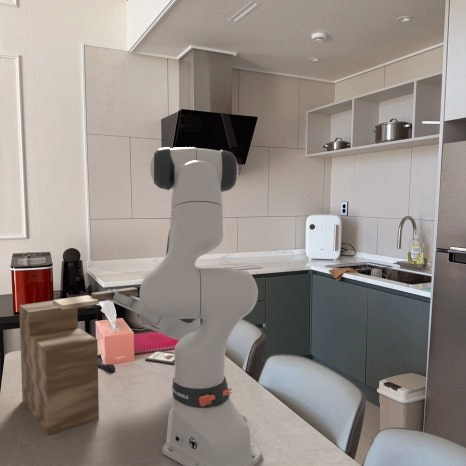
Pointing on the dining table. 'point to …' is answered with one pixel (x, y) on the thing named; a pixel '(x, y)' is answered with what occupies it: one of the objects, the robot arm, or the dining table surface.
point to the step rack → (58, 367)
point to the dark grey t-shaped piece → (105, 365)
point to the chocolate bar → (162, 357)
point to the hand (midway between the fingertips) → (110, 293)
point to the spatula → (93, 298)
